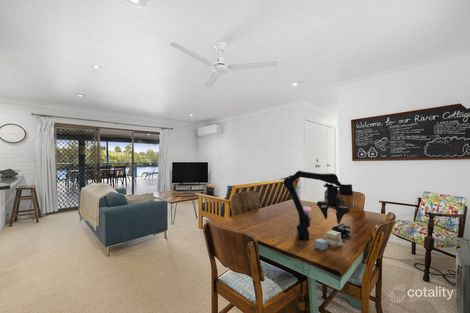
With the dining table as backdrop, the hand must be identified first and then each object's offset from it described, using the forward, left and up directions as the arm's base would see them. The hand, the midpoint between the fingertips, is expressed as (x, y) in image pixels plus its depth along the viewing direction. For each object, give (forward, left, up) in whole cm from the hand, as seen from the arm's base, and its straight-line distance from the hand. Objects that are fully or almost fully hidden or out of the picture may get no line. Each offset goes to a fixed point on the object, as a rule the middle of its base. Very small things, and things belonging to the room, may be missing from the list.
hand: (332, 221), depth 117 cm
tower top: (0, -2, -10) cm, 10 cm away
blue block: (-9, -6, -13) cm, 17 cm away
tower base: (0, -2, -13) cm, 13 cm away
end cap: (+11, +10, -13) cm, 20 cm away
